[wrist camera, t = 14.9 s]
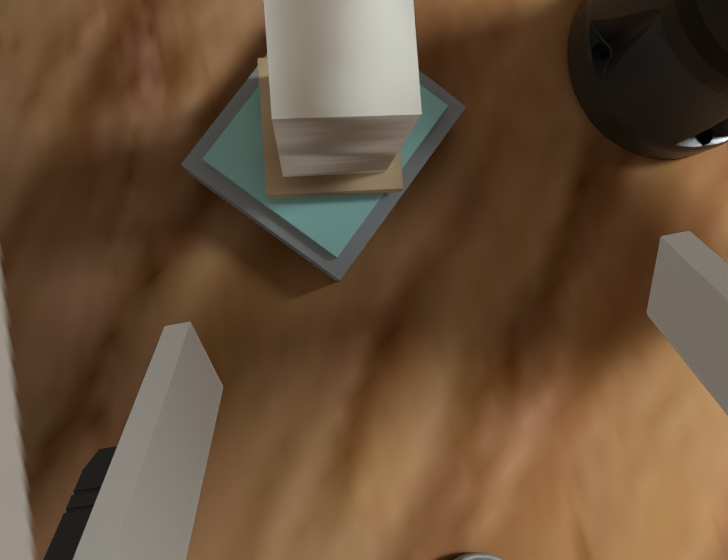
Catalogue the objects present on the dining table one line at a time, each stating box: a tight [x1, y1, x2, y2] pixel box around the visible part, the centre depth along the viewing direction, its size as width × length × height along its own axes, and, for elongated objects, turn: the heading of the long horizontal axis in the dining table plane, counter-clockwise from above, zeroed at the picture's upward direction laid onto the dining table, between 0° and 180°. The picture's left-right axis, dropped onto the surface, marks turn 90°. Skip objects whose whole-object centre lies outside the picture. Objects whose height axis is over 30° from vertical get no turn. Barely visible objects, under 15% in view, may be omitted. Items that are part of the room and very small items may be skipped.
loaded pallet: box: [258, 0, 422, 199], centre depth 26 cm, size 8×8×11 cm
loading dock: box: [181, 55, 466, 282], centre depth 33 cm, size 14×12×4 cm
